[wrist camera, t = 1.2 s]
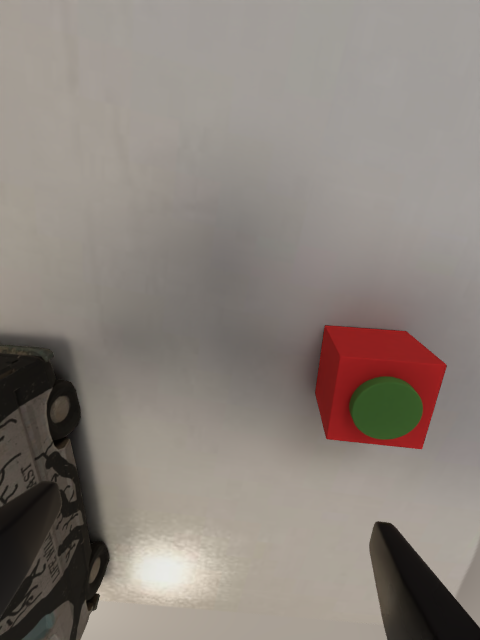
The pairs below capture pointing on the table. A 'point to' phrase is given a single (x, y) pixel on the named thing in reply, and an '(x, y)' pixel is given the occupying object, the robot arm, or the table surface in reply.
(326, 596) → the table surface
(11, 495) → the toy car
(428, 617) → the robot arm
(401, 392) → the red cube
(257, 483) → the table surface
